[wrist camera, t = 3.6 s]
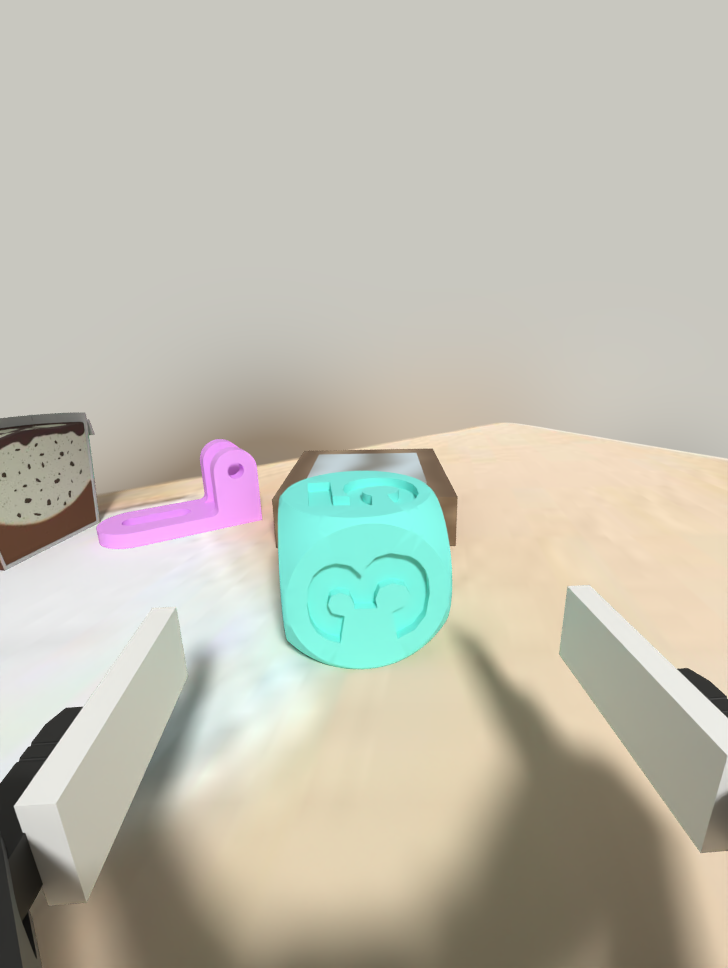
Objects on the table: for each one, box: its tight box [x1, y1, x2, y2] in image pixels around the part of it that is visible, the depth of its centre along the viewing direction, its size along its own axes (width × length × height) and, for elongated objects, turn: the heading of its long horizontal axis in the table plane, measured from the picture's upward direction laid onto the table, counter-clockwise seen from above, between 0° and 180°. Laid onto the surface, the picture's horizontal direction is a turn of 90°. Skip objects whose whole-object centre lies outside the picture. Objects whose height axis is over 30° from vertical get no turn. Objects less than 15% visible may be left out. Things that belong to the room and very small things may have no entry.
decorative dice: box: [278, 471, 452, 669], centre depth 25 cm, size 8×8×8 cm
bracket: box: [96, 439, 262, 549], centre depth 40 cm, size 13×6×7 cm, turn 121°
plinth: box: [272, 449, 457, 548], centre depth 42 cm, size 14×16×4 cm
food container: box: [0, 413, 100, 571], centre depth 37 cm, size 12×6×10 cm, turn 168°
